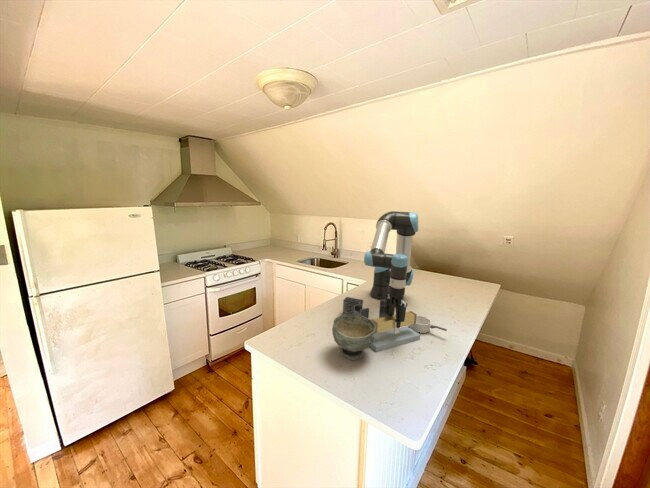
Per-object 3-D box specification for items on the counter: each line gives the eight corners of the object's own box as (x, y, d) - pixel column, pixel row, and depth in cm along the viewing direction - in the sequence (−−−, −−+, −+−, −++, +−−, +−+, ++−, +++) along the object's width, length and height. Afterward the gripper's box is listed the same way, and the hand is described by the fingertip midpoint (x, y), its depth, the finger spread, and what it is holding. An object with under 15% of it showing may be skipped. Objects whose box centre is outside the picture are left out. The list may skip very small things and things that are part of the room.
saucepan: (440, 343, 135) (442, 333, 134) (404, 328, 149) (405, 319, 148) (449, 335, 143) (450, 326, 142) (414, 322, 157) (415, 313, 156)
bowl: (343, 372, 111) (345, 338, 108) (324, 347, 128) (325, 317, 125) (383, 361, 119) (385, 330, 116) (360, 339, 136) (362, 311, 133)
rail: (369, 329, 131) (370, 319, 130) (409, 320, 143) (410, 311, 142) (374, 333, 127) (375, 323, 126) (415, 323, 139) (416, 314, 138)
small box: (362, 316, 163) (363, 299, 161) (359, 320, 157) (360, 303, 155) (346, 312, 167) (346, 296, 165) (342, 316, 161) (343, 299, 159)
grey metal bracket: (351, 326, 149) (353, 305, 147) (386, 318, 160) (387, 298, 158) (359, 332, 143) (360, 310, 141) (394, 323, 154) (396, 303, 152)
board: (363, 341, 135) (363, 336, 134) (406, 330, 147) (406, 326, 147) (376, 352, 126) (376, 347, 125) (420, 339, 138) (420, 334, 138)
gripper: (379, 281, 137) (376, 324, 141) (403, 293, 122) (399, 340, 126) (391, 280, 140) (387, 322, 145) (416, 291, 125) (411, 337, 130)
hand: (393, 330), depth 135 cm, fingers closed on rail, 4 cm apart
